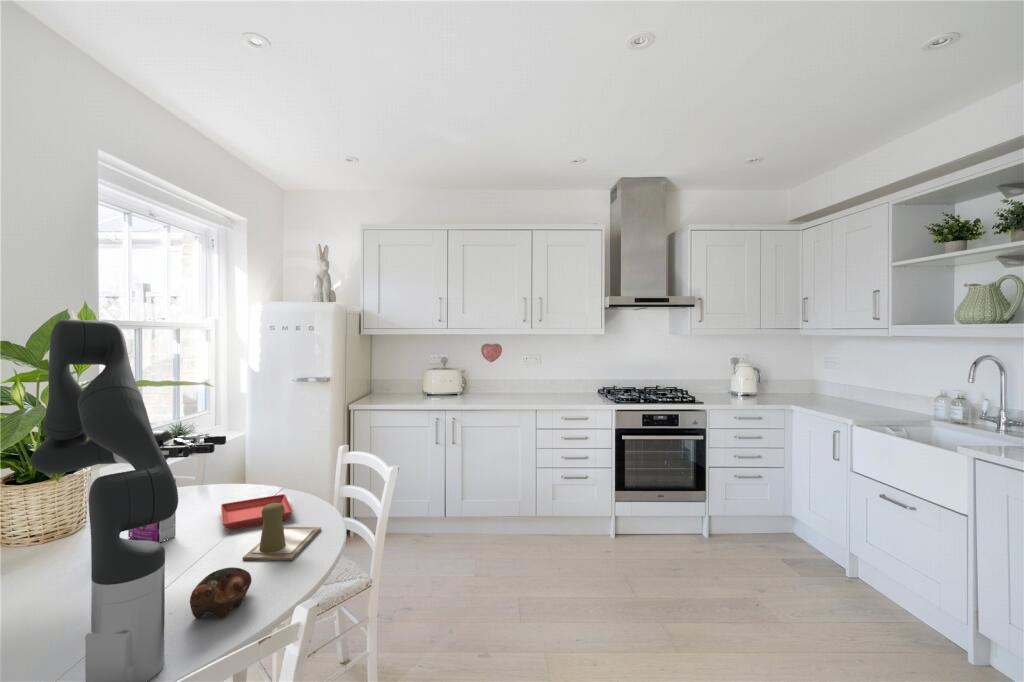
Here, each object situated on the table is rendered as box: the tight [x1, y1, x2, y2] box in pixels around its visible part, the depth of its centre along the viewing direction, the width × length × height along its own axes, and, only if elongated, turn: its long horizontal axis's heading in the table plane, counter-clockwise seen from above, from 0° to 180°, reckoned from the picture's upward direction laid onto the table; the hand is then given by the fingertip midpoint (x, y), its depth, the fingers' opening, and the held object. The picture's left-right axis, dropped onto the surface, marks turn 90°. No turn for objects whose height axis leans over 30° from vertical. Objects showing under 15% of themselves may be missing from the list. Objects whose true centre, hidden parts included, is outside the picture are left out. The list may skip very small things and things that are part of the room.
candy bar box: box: [127, 477, 177, 544], centre depth 125 cm, size 11×5×16 cm, turn 74°
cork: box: [259, 503, 286, 553], centre depth 118 cm, size 6×6×11 cm
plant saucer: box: [220, 493, 294, 531], centre depth 140 cm, size 18×18×3 cm
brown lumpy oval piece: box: [189, 566, 252, 620], centre depth 93 cm, size 10×15×8 cm, turn 1°
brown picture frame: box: [242, 526, 322, 561], centre depth 122 cm, size 18×12×1 cm, turn 1°
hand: (220, 443), depth 115 cm, fingers open, 8 cm apart
